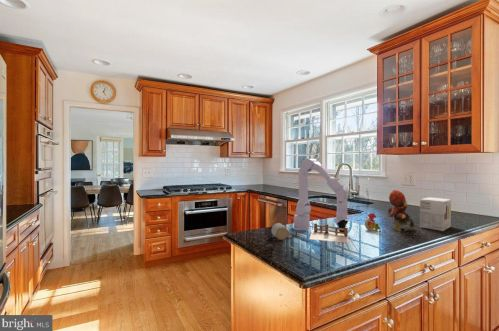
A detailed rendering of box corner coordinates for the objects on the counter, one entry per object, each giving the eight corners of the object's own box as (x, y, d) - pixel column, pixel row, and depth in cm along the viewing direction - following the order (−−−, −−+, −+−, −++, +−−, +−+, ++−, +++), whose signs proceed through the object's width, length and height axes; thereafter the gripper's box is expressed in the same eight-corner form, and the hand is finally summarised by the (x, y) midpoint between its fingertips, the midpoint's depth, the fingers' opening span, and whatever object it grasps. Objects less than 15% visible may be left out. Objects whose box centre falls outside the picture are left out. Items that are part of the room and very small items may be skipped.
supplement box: (444, 231, 161) (444, 201, 161) (419, 227, 171) (419, 199, 171) (451, 226, 173) (451, 198, 172) (427, 223, 183) (427, 196, 182)
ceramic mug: (276, 241, 142) (276, 226, 142) (271, 236, 150) (271, 223, 150) (294, 240, 144) (295, 225, 144) (288, 235, 152) (289, 222, 152)
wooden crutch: (328, 233, 154) (328, 225, 154) (329, 232, 156) (329, 224, 156) (346, 236, 147) (346, 228, 147) (348, 236, 148) (348, 228, 148)
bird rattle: (373, 235, 159) (383, 228, 163) (367, 219, 158) (378, 212, 161) (365, 233, 165) (375, 226, 168) (359, 217, 163) (369, 210, 167)
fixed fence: (313, 232, 157) (313, 224, 157) (314, 231, 159) (314, 223, 159) (328, 233, 155) (328, 225, 155) (328, 232, 156) (328, 224, 156)
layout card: (309, 240, 143) (309, 238, 143) (312, 230, 164) (312, 229, 164) (349, 243, 137) (349, 242, 137) (347, 232, 158) (347, 231, 158)
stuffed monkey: (409, 231, 154) (398, 189, 159) (384, 232, 169) (375, 193, 174) (425, 227, 161) (414, 186, 165) (399, 228, 176) (390, 190, 180)
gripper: (343, 211, 143) (343, 237, 143) (354, 208, 154) (353, 231, 154) (331, 210, 148) (331, 234, 148) (342, 206, 159) (342, 229, 159)
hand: (341, 233), depth 151 cm, fingers closed
